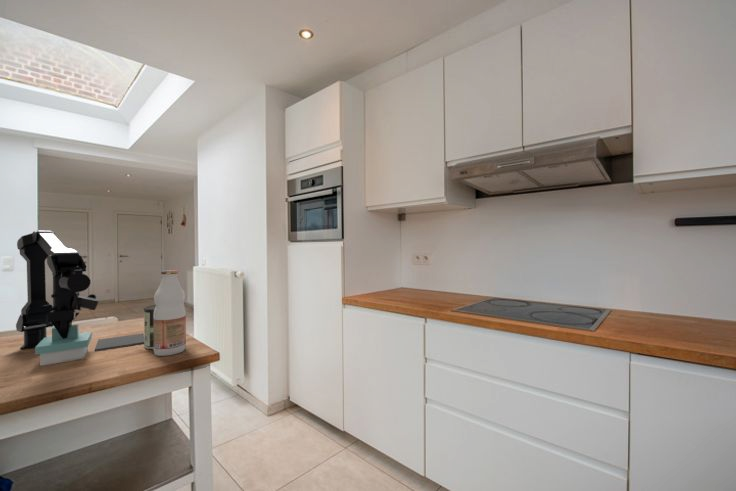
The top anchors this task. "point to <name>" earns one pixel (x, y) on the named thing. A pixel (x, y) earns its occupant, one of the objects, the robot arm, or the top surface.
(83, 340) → the lid
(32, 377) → the top surface
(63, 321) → the robot arm
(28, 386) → the top surface
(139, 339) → the mat
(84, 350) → the box
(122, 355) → the top surface
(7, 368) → the top surface
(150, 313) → the coffee can
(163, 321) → the fruit juice
